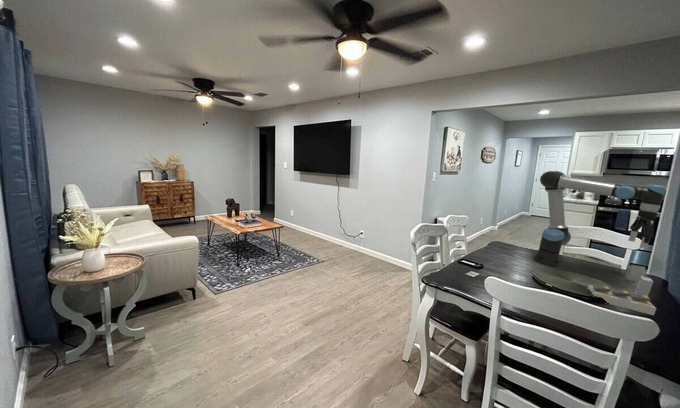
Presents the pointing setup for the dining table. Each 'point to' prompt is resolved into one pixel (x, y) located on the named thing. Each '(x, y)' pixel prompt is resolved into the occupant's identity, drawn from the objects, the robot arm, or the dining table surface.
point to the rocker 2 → (620, 292)
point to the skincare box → (643, 286)
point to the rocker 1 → (601, 288)
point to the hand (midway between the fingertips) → (636, 244)
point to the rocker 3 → (640, 297)
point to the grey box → (635, 273)
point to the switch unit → (624, 301)
